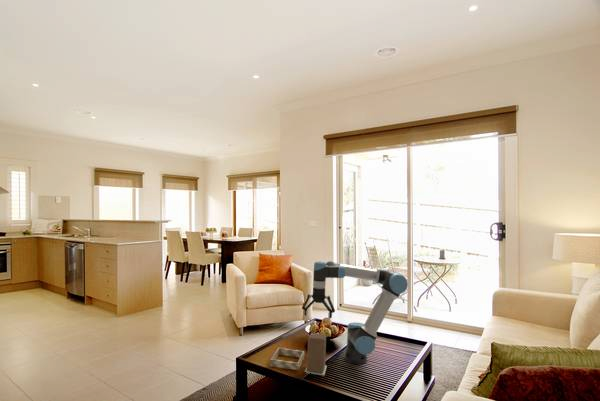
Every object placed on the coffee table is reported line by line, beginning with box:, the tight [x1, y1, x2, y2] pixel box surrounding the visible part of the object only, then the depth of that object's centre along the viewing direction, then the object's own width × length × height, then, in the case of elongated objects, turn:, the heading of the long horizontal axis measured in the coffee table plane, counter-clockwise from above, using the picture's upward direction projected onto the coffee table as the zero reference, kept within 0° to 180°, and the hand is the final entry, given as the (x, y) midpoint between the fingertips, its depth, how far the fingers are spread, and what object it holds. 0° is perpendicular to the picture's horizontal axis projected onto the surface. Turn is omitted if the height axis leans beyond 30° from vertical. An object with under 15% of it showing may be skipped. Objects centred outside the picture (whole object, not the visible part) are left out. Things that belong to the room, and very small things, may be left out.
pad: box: [304, 364, 328, 376], centre depth 202 cm, size 12×12×1 cm
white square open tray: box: [269, 347, 305, 371], centre depth 210 cm, size 18×18×4 cm
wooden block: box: [306, 332, 327, 373], centre depth 202 cm, size 10×10×20 cm
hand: (317, 322), depth 202 cm, fingers open, 13 cm apart
